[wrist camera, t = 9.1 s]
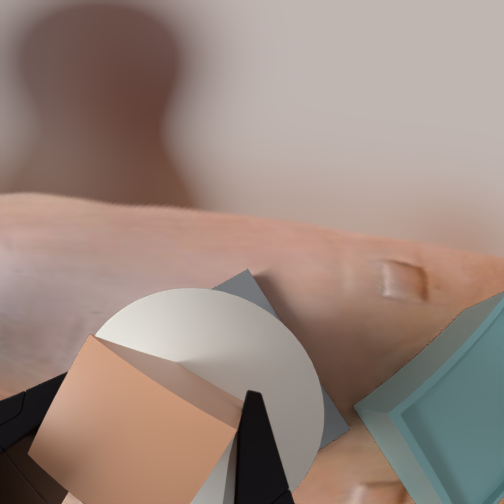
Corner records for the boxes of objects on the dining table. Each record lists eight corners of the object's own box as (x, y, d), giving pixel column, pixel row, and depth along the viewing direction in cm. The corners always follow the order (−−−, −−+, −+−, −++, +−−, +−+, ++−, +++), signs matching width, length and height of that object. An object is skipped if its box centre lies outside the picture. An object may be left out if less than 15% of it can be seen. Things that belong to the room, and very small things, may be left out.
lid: (360, 361, 12) (479, 328, 5) (244, 552, 9) (239, 671, 2) (155, 253, 14) (82, 134, 7) (51, 431, 11) (-80, 440, 3)
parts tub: (517, 414, 17) (564, 412, 12) (421, 513, 15) (462, 538, 9) (463, 309, 21) (510, 287, 15) (352, 406, 18) (388, 413, 13)
